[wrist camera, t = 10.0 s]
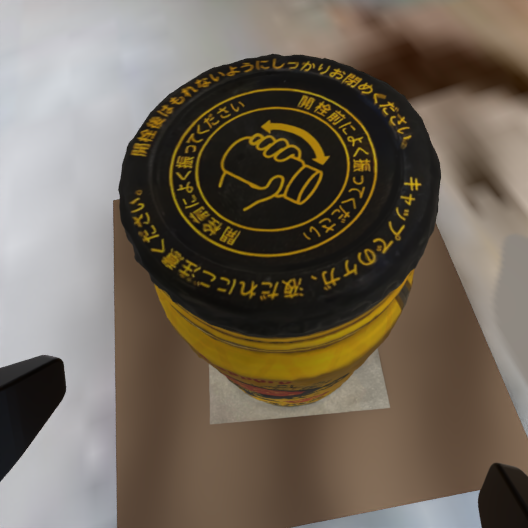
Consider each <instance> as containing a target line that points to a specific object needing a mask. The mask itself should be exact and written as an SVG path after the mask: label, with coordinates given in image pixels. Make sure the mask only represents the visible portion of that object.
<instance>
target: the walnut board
mask: <svg viewBox="0 0 528 528" xmlns="http://www.w3.org/2000/svg"><path fill="white" fill-rule="evenodd" d="M119 203H120V199H119V200H113V223H114V305H115V387H116V469H117V528H290V527H295V526H300V525H305V524H310V523H315V522H320V521H326V520H331V519H336V518H341V517H346V516H351V515H356V514H361V513H366V512H371V511H376V510H381V509H386V508H391V507H396V506H401V505H406V504H411V503H416V502H421V501H426V500H431V499H436V498H441V497H447V496H452V495H457V494H462V493H467V492H472V491H477V490H481V487H482V485H483V483H484V480H485V478H486V475H487V473H488V470H489V468H490V466H491V465H492V464H493V463H502V464H506V465H510V466H515V467H517V468H519V469H521V470H522V471H523V472H524V473H525V474H526V475H527V476H528V438H527V435H526V433H525V431H524V428H523V426H522V424H521V421H520V419H519V417H518V414H517V412H516V410H515V407H514V405H513V403H512V400H511V398H510V396H509V393H508V391H507V389H506V386H505V384H504V381H503V379H502V377H501V374H500V372H499V370H498V367H497V365H496V363H495V360H494V358H493V356H492V353H491V351H490V349H489V346H488V344H487V342H486V339H485V337H484V335H483V332H482V330H481V328H480V325H479V323H478V321H477V318H476V316H475V314H474V311H473V309H472V307H471V304H470V302H469V300H468V297H467V295H466V293H465V290H464V288H463V286H462V283H461V281H460V278H459V276H458V274H457V271H456V269H455V267H454V264H453V262H452V260H451V257H450V255H449V253H448V250H447V248H446V246H445V243H444V241H443V239H442V236H441V234H440V232H439V229H438V227H437V225H436V223H435V228H434V231H433V233H432V235H431V236H430V238H429V240H428V243H427V246H426V248H425V251H424V254H423V256H422V257H421V259H420V260H419V262H418V264H417V266H416V268H415V270H414V275H413V284H412V287H411V291H410V293H409V296H408V299H407V303H406V305H405V307H404V308H403V310H402V313H401V315H400V317H399V318H398V320H397V322H396V324H395V325H394V327H393V328H392V330H391V332H390V334H389V336H388V337H387V338H386V339H385V341H384V342H383V343H382V344H381V345H380V346H379V347H378V352H379V358H380V363H381V367H382V372H383V376H384V381H385V386H386V390H387V395H388V400H389V405H390V408H384V409H373V410H362V411H350V412H341V413H331V414H320V415H309V416H298V417H288V418H277V419H266V420H254V421H244V422H232V423H221V424H210V392H209V363H207V362H206V361H205V360H204V359H202V358H199V357H198V355H197V354H196V353H195V352H194V351H193V350H192V349H191V348H190V346H189V344H188V343H187V342H186V341H185V340H184V339H183V338H182V337H181V336H180V335H179V334H178V333H177V332H176V330H175V329H174V328H173V326H172V325H171V323H170V321H169V319H168V318H167V316H166V313H165V311H164V309H163V307H162V305H161V302H160V300H159V297H158V295H157V292H156V289H155V285H154V283H153V282H152V281H151V278H150V275H149V273H148V272H147V271H146V269H144V268H143V267H142V266H141V265H140V264H139V263H138V262H136V260H135V258H134V255H135V253H134V249H133V245H132V244H131V243H130V242H129V241H128V239H127V237H126V233H125V229H124V227H123V225H122V223H121V218H120V209H119Z"/></svg>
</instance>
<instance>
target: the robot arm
mask: <svg viewBox="0 0 528 528" xmlns="http://www.w3.org/2000/svg"><path fill="white" fill-rule="evenodd" d="M65 392H66V381H65V372H64V364H63V361H62V360H61V359H60V358H57V357H53V356H48V355H41V356H38V357H34V358H31V359H28V360H25V361H22V362H18V363H15V364H12V365H9V366H5V367H2V368H0V481H1V480H2V479H3V478H4V477H5V476H6V474H7V473H8V472H9V471H10V470H11V469H12V467H13V466H14V465H15V464H16V462H17V461H18V460H19V459H20V457H21V456H22V455H23V453H24V452H25V451H26V449H27V448H28V447H29V445H30V444H31V442H32V441H33V440H34V438H35V437H36V436H37V434H38V433H39V431H40V430H41V429H42V427H43V426H44V424H45V423H46V422H47V420H48V419H49V418H50V416H51V415H52V413H53V412H54V411H55V409H56V408H57V406H58V405H59V404H60V402H61V401H62V399H63V397H64V395H65ZM478 508H479V514H480V520H481V526H482V528H528V476H527V475H526V474H525V473H524V472H523V471H522V470H521V469H519V468H517V467H515V466H510V465H506V464H502V463H493V464H492V465H491V466H490V468H489V470H488V473H487V475H486V478H485V480H484V483H483V485H482V487H481V490H480V493H479V497H478Z"/></svg>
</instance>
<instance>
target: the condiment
mask: <svg viewBox="0 0 528 528" xmlns="http://www.w3.org/2000/svg"><path fill="white" fill-rule="evenodd" d="M440 180H441V170H440V162H439V159H438V156H437V153H436V151H435V149H434V147H433V145H432V143H431V141H430V138H429V134H428V132H427V130H426V128H425V125H424V123H423V120H422V118H421V117H420V116H419V114H418V113H417V112H416V111H415V110H414V109H413V107H412V106H411V104H410V103H409V102H408V100H407V99H406V97H405V96H404V95H402V94H400V93H399V92H397V91H396V90H395V89H394V88H392V87H391V86H390V85H389V84H387V83H386V82H383V81H381V80H378V79H376V78H374V77H372V76H370V75H368V74H366V73H364V72H361V71H358V70H356V69H354V68H352V67H351V66H347V65H344V64H341V63H338V62H336V61H334V60H329V59H326V58H324V59H321V58H316V57H310V56H305V55H292V56H281V55H278V54H271V55H267V56H261V57H257V58H247V59H244V60H240V61H237V62H234V63H231V64H227V65H222V66H219V67H214V68H212V69H210V70H208V71H205V72H203V73H202V74H200V75H199V76H197V77H196V78H194V79H192V80H191V81H189V82H188V83H186V84H184V85H182V86H181V87H179V88H178V89H177V90H175V91H174V92H172V93H171V94H169V95H168V96H167V97H166V98H165V99H164V100H163V101H162V102H161V103H160V104H159V105H158V106H156V107H155V109H154V110H153V111H152V112H151V113H150V114H149V116H148V117H147V119H146V120H145V122H144V123H143V125H142V126H141V128H140V129H139V130H138V132H137V134H136V135H135V137H134V138H133V139H132V140H131V141H130V142H129V144H128V146H127V151H126V154H125V157H124V161H123V164H122V172H121V179H120V183H119V189H118V190H119V194H120V203H119V209H120V218H121V223H122V225H123V227H124V229H125V233H126V237H127V239H128V241H129V242H130V243H131V244H132V245H133V249H134V253H135V255H134V258H135V260H136V262H138V263H139V264H140V265H141V266H142V267H143V268H144V269H146V271H147V272H148V273H149V275H150V278H151V281H152V282H153V283H154V285H155V289H156V292H157V295H158V297H159V300H160V302H161V305H162V307H163V309H164V311H165V313H166V316H167V318H168V319H169V321H170V323H171V325H172V326H173V328H174V329H175V330H176V332H177V333H178V334H179V335H180V336H181V337H182V338H183V339H184V340H185V341H186V342H187V343H188V344H189V346H190V348H191V349H192V350H193V351H194V352H195V353H196V354H197V355H198V357H199V358H202V359H204V360H205V361H206V362H207V363H209V392H210V424H221V423H232V422H244V421H254V420H266V419H277V418H288V417H298V416H309V415H320V414H331V413H341V412H350V411H362V410H373V409H384V408H390V405H389V400H388V395H387V390H386V386H385V381H384V376H383V372H382V367H381V363H380V358H379V352H378V347H379V346H380V345H381V344H382V343H383V342H384V341H385V339H386V338H387V337H388V336H389V334H390V332H391V330H392V328H393V327H394V325H395V324H396V322H397V320H398V318H399V317H400V315H401V313H402V310H403V308H404V307H405V305H406V303H407V299H408V296H409V293H410V291H411V287H412V284H413V275H414V270H415V268H416V266H417V264H418V262H419V260H420V259H421V257H422V256H423V254H424V251H425V248H426V246H427V243H428V240H429V238H430V236H431V235H432V233H433V231H434V228H435V223H436V216H437V212H438V202H439V197H438V196H439V188H440Z"/></svg>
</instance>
